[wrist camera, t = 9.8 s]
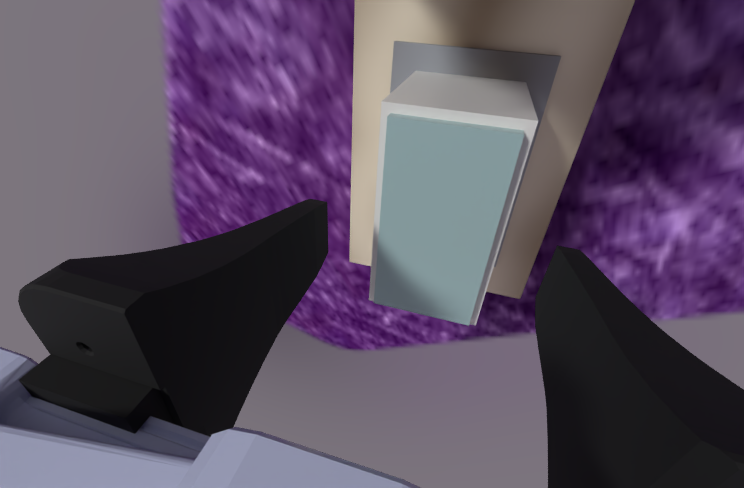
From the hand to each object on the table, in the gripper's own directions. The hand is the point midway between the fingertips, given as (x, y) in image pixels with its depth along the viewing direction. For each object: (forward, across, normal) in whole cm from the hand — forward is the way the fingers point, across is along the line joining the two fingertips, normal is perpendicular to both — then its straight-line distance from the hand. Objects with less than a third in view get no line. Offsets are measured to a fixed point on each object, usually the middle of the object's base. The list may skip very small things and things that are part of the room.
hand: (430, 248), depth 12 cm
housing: (+7, 0, 0) cm, 7 cm away
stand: (+9, 0, 0) cm, 9 cm away
